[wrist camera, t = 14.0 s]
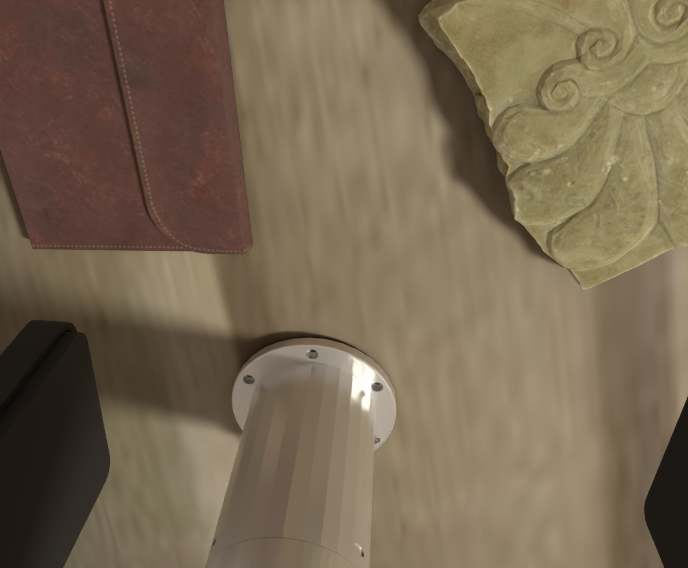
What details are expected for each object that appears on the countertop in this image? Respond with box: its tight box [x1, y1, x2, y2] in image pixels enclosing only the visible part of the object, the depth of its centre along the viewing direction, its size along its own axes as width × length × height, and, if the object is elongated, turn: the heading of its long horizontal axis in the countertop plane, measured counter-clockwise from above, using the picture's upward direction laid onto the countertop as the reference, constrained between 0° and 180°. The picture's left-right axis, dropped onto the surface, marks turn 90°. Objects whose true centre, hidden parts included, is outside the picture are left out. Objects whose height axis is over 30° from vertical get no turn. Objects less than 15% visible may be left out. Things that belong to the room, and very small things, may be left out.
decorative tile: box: [418, 0, 688, 289], centre depth 34 cm, size 19×6×20 cm
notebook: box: [0, 0, 253, 254], centre depth 38 cm, size 15×20×2 cm
